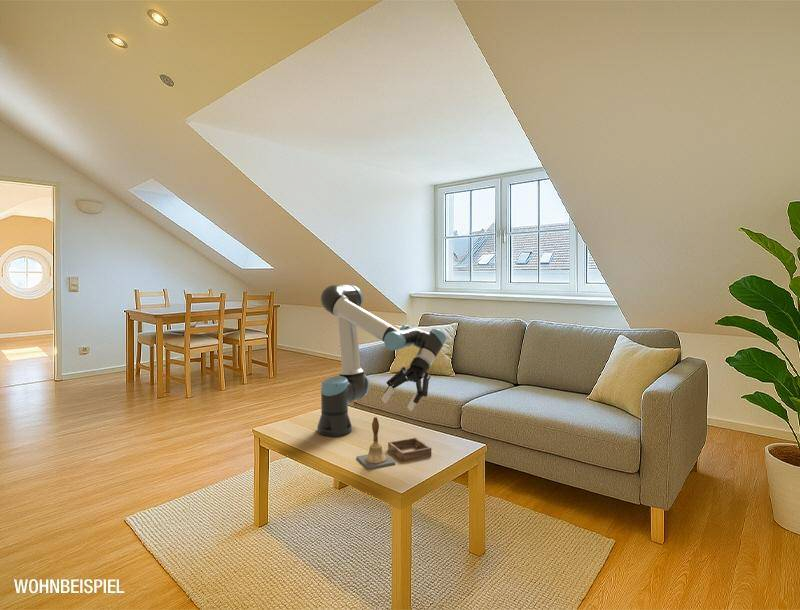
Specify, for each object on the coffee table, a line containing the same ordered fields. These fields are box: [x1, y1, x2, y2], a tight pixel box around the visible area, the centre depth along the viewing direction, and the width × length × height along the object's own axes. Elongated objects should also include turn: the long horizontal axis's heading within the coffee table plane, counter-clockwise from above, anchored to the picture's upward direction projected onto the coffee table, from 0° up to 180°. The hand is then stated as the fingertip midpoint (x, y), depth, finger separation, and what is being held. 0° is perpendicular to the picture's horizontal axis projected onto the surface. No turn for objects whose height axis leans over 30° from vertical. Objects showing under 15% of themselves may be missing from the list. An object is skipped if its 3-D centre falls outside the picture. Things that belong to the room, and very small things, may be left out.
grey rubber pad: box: [356, 451, 396, 470], centre depth 177 cm, size 11×11×1 cm
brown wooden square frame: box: [387, 437, 432, 462], centre depth 186 cm, size 13×13×3 cm
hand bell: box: [365, 416, 387, 464], centre depth 176 cm, size 8×8×16 cm
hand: (396, 405), depth 183 cm, fingers open, 13 cm apart
